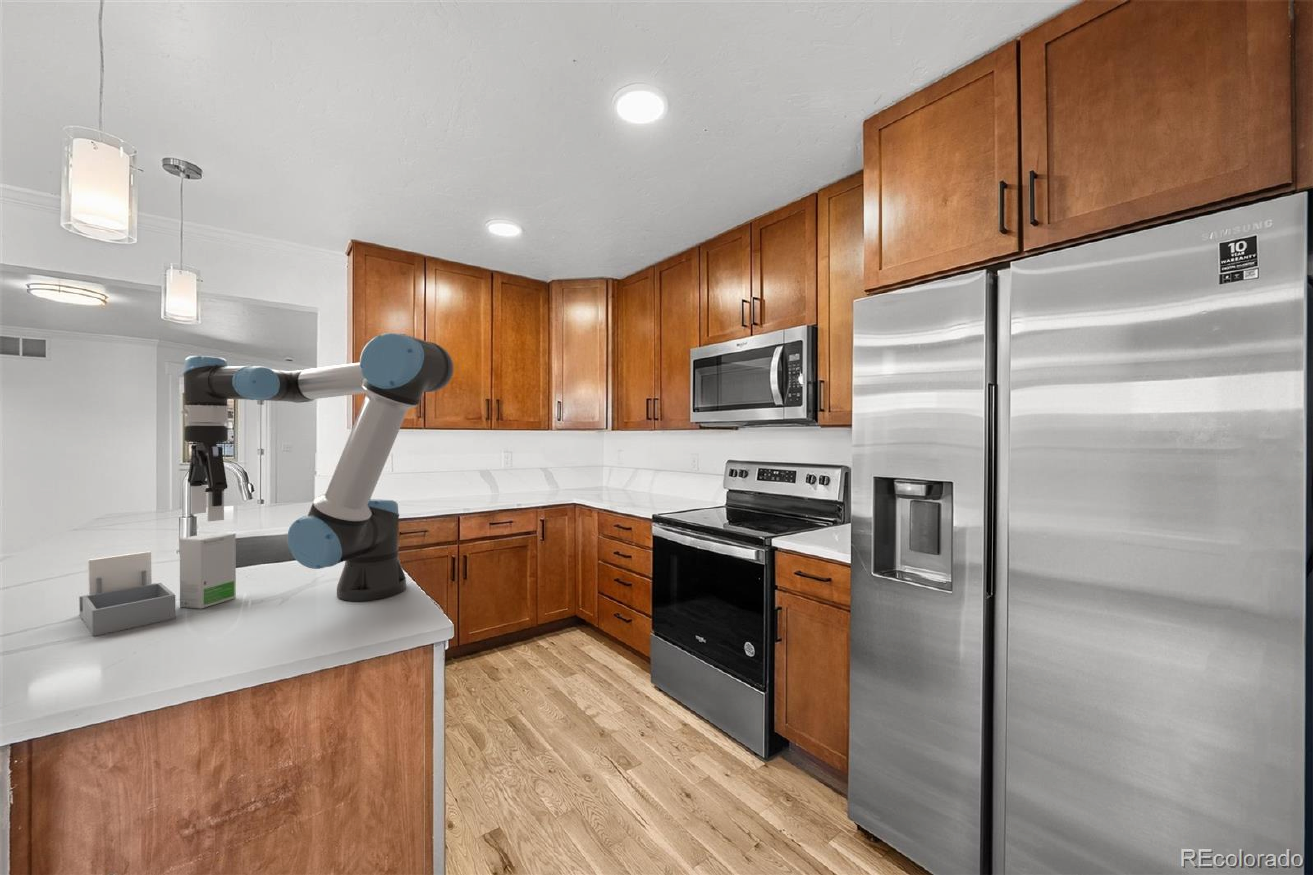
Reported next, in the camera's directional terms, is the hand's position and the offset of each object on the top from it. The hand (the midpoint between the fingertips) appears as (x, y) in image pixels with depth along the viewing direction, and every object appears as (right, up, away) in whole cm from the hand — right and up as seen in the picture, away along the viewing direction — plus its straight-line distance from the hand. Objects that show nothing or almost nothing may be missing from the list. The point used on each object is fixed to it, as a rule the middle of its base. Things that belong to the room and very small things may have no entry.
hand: (206, 517), depth 120 cm
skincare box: (0, -20, +1) cm, 20 cm away
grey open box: (-10, -20, -9) cm, 24 cm away
